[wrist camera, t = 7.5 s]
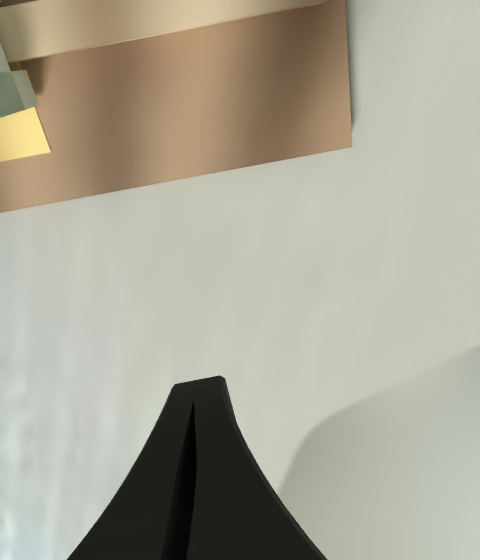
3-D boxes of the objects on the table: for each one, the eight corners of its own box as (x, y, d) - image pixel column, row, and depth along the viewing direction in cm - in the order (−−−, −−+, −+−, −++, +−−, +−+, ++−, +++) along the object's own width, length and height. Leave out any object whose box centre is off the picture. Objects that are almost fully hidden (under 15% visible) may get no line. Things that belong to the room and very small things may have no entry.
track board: (-59, 217, 19) (-126, 261, 16) (-241, -139, 14) (-420, -214, 10) (345, 142, 19) (382, 166, 15) (323, -253, 14) (372, -379, 10)
